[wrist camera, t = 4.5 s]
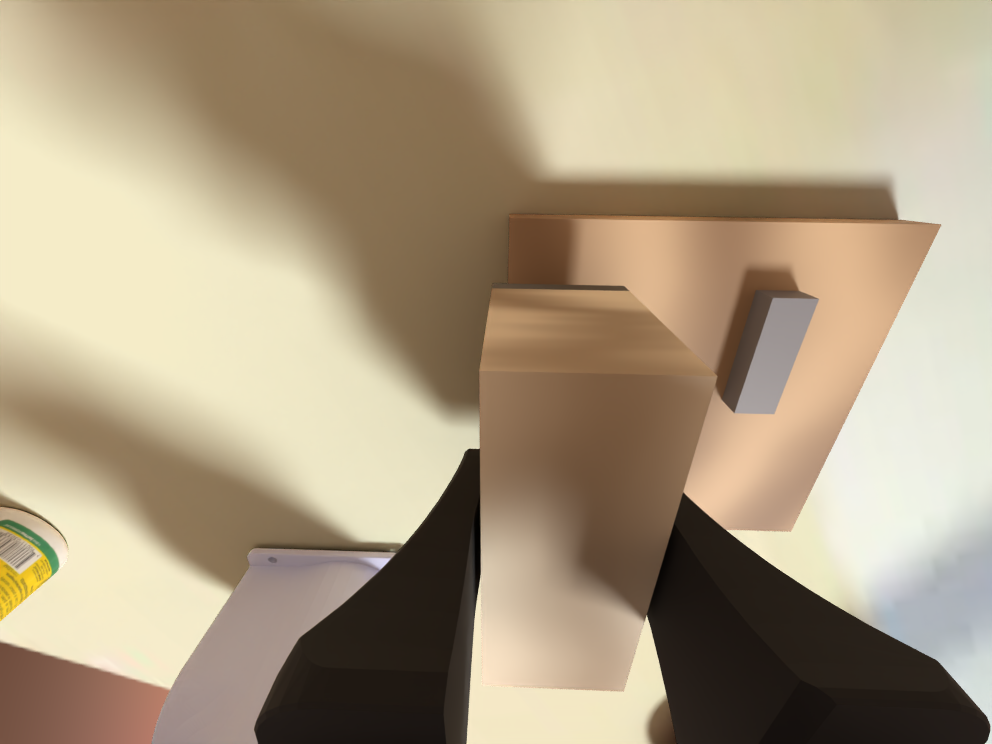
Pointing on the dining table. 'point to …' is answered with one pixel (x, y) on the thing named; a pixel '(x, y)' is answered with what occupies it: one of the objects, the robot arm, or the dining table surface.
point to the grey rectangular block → (768, 350)
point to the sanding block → (578, 478)
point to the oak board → (722, 317)
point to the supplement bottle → (26, 556)
